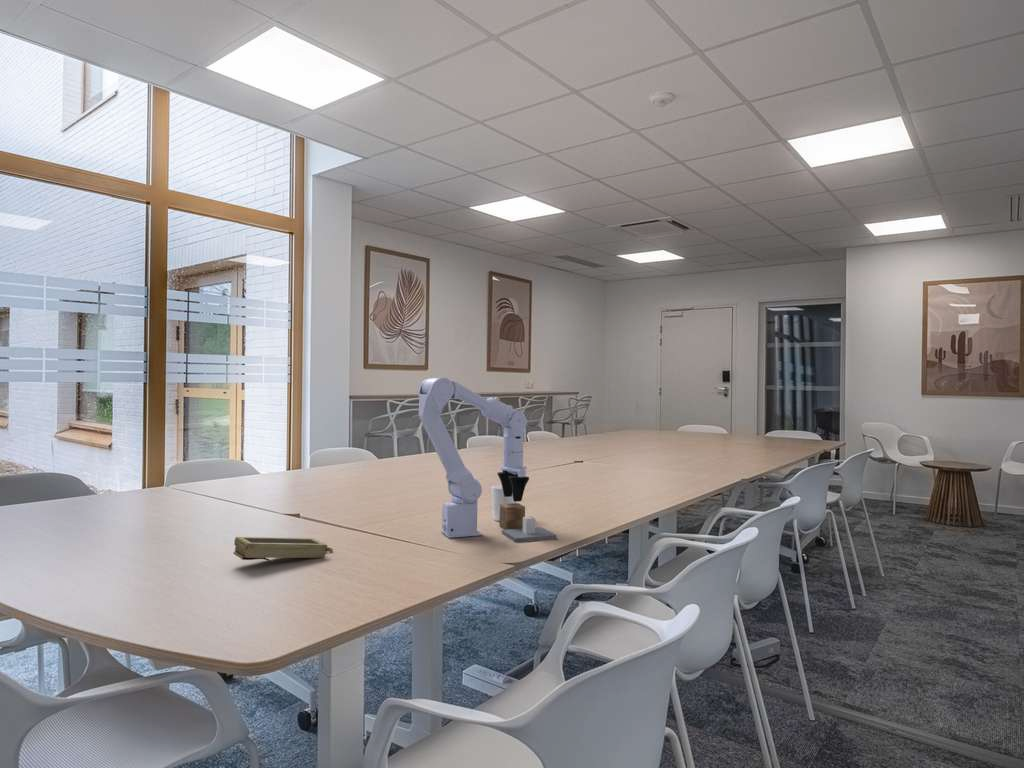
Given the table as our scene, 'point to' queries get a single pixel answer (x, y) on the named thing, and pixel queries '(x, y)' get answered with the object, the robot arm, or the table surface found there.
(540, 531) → the post base
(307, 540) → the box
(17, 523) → the table surface
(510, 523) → the sliding lid crate
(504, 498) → the white cup
